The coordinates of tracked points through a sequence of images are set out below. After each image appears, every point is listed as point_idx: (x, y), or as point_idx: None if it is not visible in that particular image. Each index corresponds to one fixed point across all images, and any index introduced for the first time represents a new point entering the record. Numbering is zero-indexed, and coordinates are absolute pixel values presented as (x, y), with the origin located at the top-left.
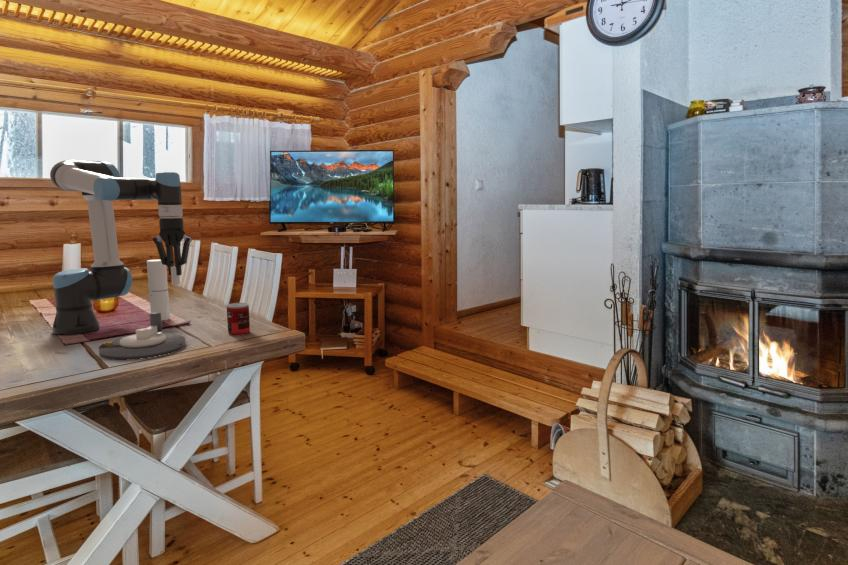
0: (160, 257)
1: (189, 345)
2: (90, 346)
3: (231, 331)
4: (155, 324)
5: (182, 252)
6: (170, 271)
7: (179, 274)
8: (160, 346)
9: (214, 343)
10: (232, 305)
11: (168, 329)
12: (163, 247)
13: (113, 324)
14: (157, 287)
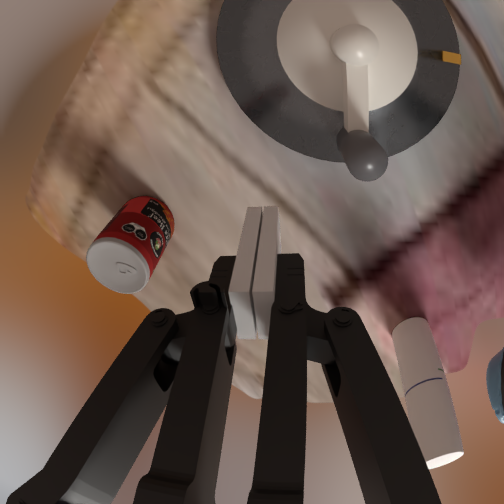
0: (379, 367)
1: (216, 82)
2: (493, 91)
3: (150, 201)
4: (353, 131)
5: (114, 407)
6: (287, 274)
7: (219, 261)
8: (263, 4)
9: (154, 112)
10: (130, 267)
11: (366, 251)
12: (363, 490)
13: (493, 288)
14: (428, 389)
